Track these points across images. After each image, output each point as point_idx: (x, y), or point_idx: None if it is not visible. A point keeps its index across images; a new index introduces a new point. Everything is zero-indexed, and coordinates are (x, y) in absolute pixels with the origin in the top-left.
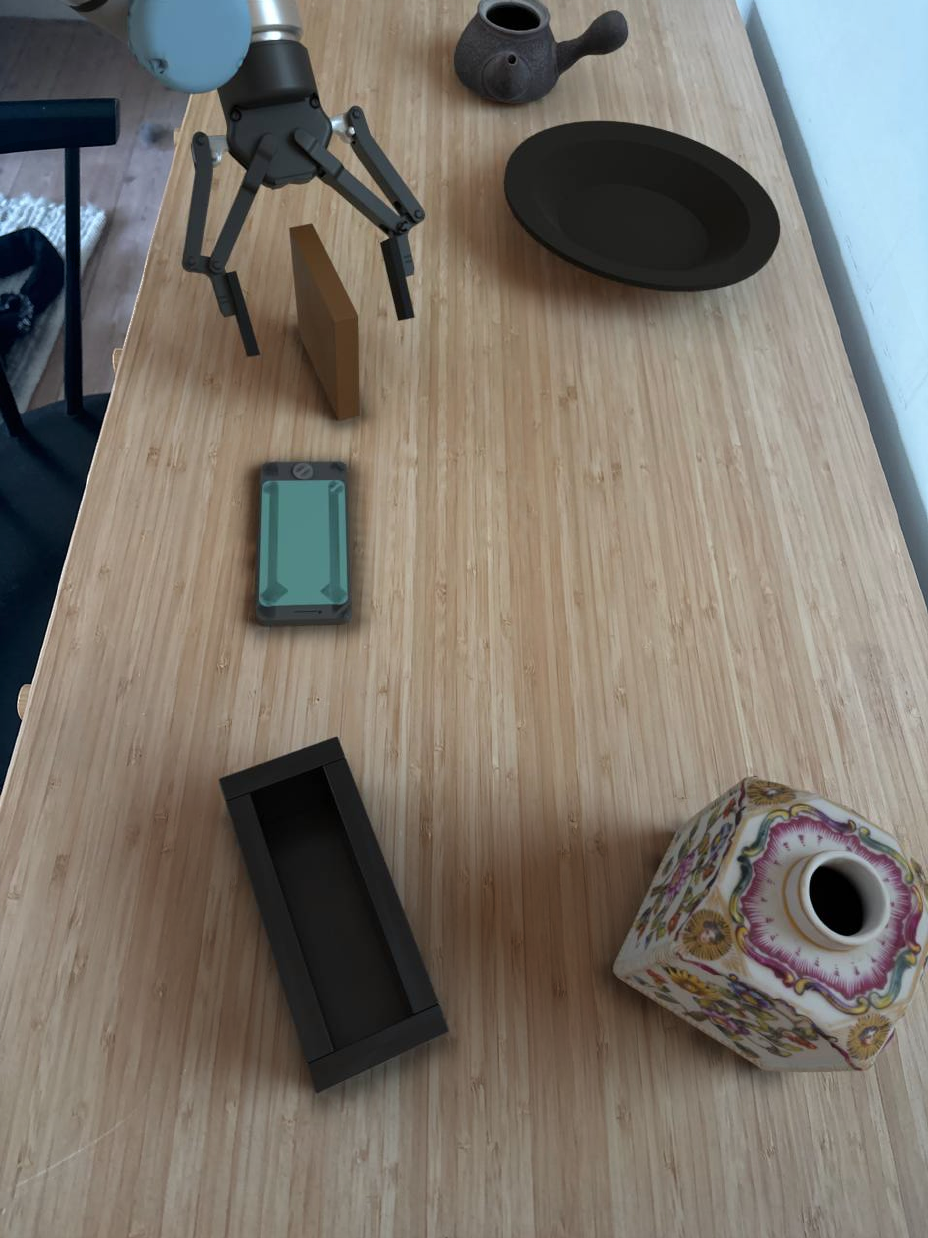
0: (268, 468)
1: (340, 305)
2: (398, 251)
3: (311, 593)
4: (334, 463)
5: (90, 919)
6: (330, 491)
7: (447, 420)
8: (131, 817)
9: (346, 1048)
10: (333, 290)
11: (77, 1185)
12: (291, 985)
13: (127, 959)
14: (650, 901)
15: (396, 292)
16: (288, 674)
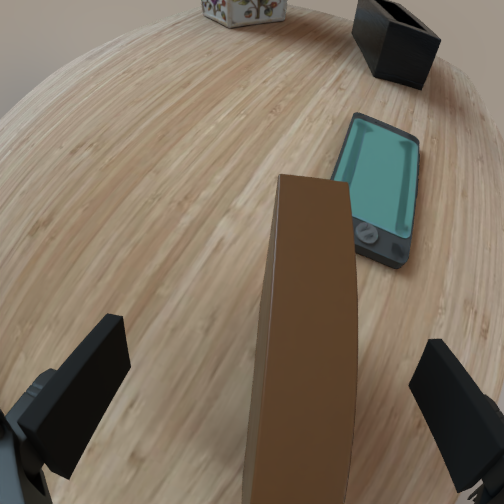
0: (400, 254)
1: (314, 219)
2: (38, 398)
3: (380, 133)
4: None
5: (468, 100)
6: None
7: (158, 248)
8: (463, 114)
9: (391, 2)
10: (313, 284)
11: (453, 67)
12: (408, 11)
13: (453, 87)
14: (260, 15)
15: (103, 373)
16: (397, 117)
